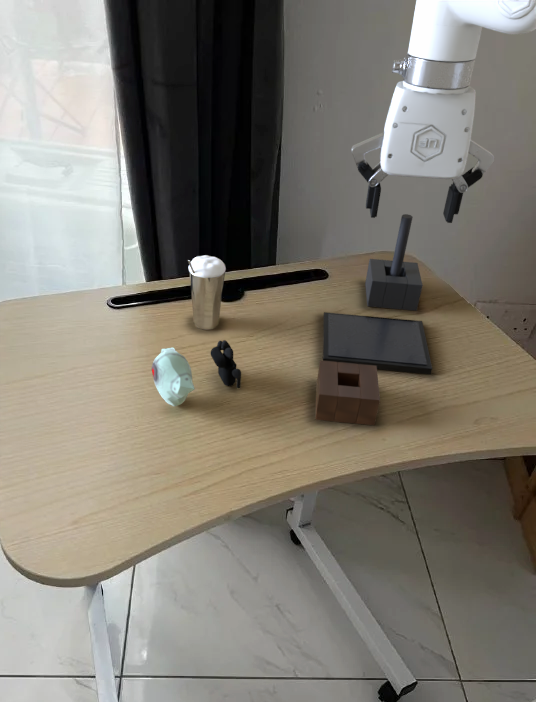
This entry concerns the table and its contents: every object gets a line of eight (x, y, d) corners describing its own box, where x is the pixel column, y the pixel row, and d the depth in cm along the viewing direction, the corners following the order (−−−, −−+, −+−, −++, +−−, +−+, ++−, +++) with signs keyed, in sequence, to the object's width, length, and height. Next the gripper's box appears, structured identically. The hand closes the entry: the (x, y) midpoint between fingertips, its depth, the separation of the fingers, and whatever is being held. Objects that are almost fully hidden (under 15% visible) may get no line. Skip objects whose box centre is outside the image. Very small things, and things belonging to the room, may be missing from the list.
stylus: (394, 294, 94) (412, 214, 87) (395, 299, 93) (413, 218, 86) (385, 294, 94) (401, 213, 87) (385, 298, 93) (402, 217, 86)
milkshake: (176, 324, 86) (175, 253, 79) (206, 310, 89) (208, 241, 83) (200, 339, 83) (201, 267, 77) (230, 324, 86) (233, 253, 80)
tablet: (420, 326, 88) (422, 320, 87) (430, 374, 79) (432, 367, 79) (323, 317, 89) (323, 311, 88) (322, 364, 80) (323, 357, 79)
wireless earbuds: (243, 397, 74) (245, 360, 71) (222, 401, 73) (223, 364, 70) (223, 363, 79) (224, 327, 76) (203, 366, 79) (203, 330, 75)
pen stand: (371, 390, 76) (376, 365, 74) (374, 425, 71) (380, 400, 69) (316, 384, 77) (319, 360, 74) (315, 419, 72) (319, 394, 69)
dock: (411, 287, 96) (417, 262, 94) (416, 311, 91) (422, 285, 89) (365, 283, 97) (369, 258, 94) (367, 306, 91) (372, 280, 89)
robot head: (201, 422, 70) (201, 371, 66) (163, 430, 69) (162, 378, 65) (179, 380, 76) (179, 330, 72) (145, 386, 75) (142, 336, 71)
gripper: (363, 76, 73) (344, 223, 84) (522, 84, 72) (482, 232, 83) (360, 63, 79) (343, 201, 90) (507, 70, 78) (472, 210, 89)
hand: (410, 216), depth 86 cm, fingers open, 9 cm apart
